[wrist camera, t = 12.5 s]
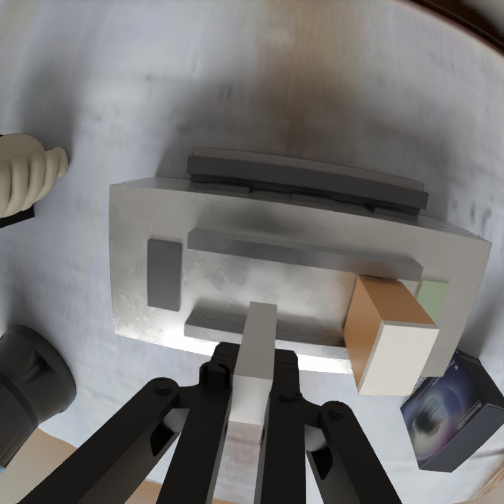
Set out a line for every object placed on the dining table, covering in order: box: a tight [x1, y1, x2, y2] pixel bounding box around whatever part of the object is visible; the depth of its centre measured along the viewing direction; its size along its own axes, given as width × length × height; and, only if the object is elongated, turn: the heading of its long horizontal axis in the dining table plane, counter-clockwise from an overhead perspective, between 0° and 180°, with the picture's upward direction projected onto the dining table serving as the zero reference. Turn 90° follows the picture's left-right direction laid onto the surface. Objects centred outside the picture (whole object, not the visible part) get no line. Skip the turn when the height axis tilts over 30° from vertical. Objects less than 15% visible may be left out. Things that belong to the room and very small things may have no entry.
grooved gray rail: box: [187, 147, 428, 215], centre depth 25 cm, size 20×3×3 cm, turn 84°
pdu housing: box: [109, 177, 492, 377], centre depth 24 cm, size 28×12×9 cm, turn 84°
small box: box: [400, 349, 504, 473], centre depth 26 cm, size 11×6×10 cm, turn 156°
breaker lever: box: [343, 275, 440, 396], centre depth 17 cm, size 3×4×6 cm
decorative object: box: [0, 133, 68, 228], centre depth 23 cm, size 13×10×10 cm
